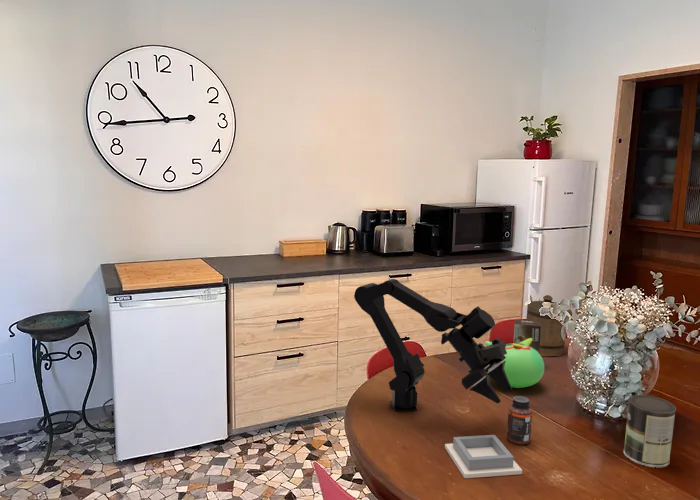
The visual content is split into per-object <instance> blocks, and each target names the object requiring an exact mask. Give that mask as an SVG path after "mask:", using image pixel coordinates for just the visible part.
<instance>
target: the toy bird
mask: <svg viewBox="0 0 700 500" xmlns="http://www.w3.org/2000/svg"><path fill="white" fill-rule="evenodd" d="M532 340H533V339H532V338H529V339H526V340H524V341H522V342H520V343H518V344H517V343H514V342H513V343H512V342H511V343H505V344H506V347H505V349H506V352H507V354H505V355H504V356H505V357H506V358H505V359H504V360H503V361H501V363H502V362H504V361H506V363H505V366H504V370H505V373H506V376H507V378H508V381H509V383H510V385H511V388H512V389H521V388H522V389H523V388H528V387H531V386H534V385H536V384H538V382H539V381H541V379H542V378H543V375H544V374H545V362H544V359H543V356H541V355H540V354H539V353H538V352H537V351H536V350H535V349H533V348H531V347H529V345H530V344H531V342H532ZM484 344H485V346H489V345H492V341H488V340H486V341H485V342H484ZM487 373H489V371H488V372H487Z"/></svg>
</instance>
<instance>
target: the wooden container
mask: <svg viewBox="0 0 700 500" xmlns="http://www.w3.org/2000/svg"><path fill="white" fill-rule="evenodd" d="M530 302H531V303H530V304H528V303H527V307H526V318H525V320H526V321H536V322H540V323H541V340H540V355H541V357H546V356H556V357H559V356H562V355H564V352H565V343H566V329H567V326H566V327H565V326H564V325H562V324H561V323H560V322H559V321H558V320H556V319H551V318H550V317H549V316H548V315H545V316H540V312H539V309H540V308H541V307H543V305H542V303H543V302H550V303H557V302H555V301H554V300H553V297H552V296H551V295H550V294H546V295H544V296H543V300H533V301H530Z"/></svg>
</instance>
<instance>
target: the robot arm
mask: <svg viewBox="0 0 700 500" xmlns="http://www.w3.org/2000/svg"><path fill="white" fill-rule="evenodd" d="M387 295H388V296H390V297H392V298H393V299H395V300H397V301H399V302H400V303H402V304H403V305H405V306H407V308H409V309H411V310H413V311H414V312H416V313H418V314H419V315H421V316H422V317H423V318H424V320H425V321H426V323H427V324H428V325H429V326H430V327H432V328H433V330H435V331H437V332H440V333H442V332H444V333H442V334H441V341H440V344H441V345H444V344H446V343H448V342H449V344H450V345H451V346H452V348H453V349H454V350H455V351H456V353H457V355H459V359H458V360H459V362H460V363H462V362H463V363H465V364H466V366H467V367H468V368H469V369H470V370H468V374H466V375H465V376H463V378H461V385H462V386H463V388H464V389H465V390H469V391H470V392H471V391H473V392H475V393H476V394H479V395H481V396H482V397H484V398H487V399H489V400H490V401H492V402H493V403H495V404H499V403H501V401H502V400H501V399H500V397H499V395H498V393H497V392H496V391H495V389H494V387H493V386H492V384H491V383H490V379H492V380H493V381H495V382H496V384H498V385H500V387H502V388H503V389H505V390H506V391H508V392H511V391H513V388H512V387H511V385H510V383H509V381H508V378H507V376H506V373H505V370H504V366H505V363H506V361H504V362H502V363H501V361H503V360H504V359H505V358H506V357H505V356H504V355H505V354H507V352H506V349H505V347H506V344H507V343H505V342H504V341H503V340H501V338H499V337H498V338H494V339H493V340H492V341H491V342H492V345H489V346H487V345H485V346H484V344H483V343H481V342H479V343H477V341H476V340H475V339H480V338H482V337H483V336H484V335H485V334H486V333H488V332H489V331H490V330H492V329H493V328H494V327H495V326H496V323H495V320H494V318H493V316H492V315H491V314H490V313H488V312H487V311H485V310H484V309H481V307H480V306H476V307H474V308H473V309H472V310H471V311H470V313H468V314H467V315H466V314H463V313H462V312H461V313H460V312H457V311H456V309H454V308H453V307H450V306H448V305H445V304H443V303H439V302H435V301H434V302H433V301H432V300H430V299H428V298H426V297H425V296H423V295H421V294H420V293H417V292H416V291H414V290H413V289H412V288H410V287H408V286H406V285H404V284H402V283H401V282H400V281H399V280H398V279H395V278H391V279H387V280H385V281H384V282H382V283H378V284H377V283H375V282H370V283H367V284H363V285H360V286H358V287H357V288H356V289H355V291H354V295H353V297H354V300H355V303H357V304H358V307H360V308H361V310H362V311H363V312H365V313H366V314H367V315H368V316H370V318H371V319H372V322H373V324H374V326H375V327H376V329H377V332H378V333H379V335H380V337H381V338H382V340H383V342H384V344H385V346H386V348H387V350H388V351H389V354H390V355H391V357H392V360H393V372H394V375H395V377H394V378H392V379H391V380H389V382H388V387H389V390H391V391H392V397H391V399H392V400H390V404H391V406H392V408H393V410H394V412H412V411H417V410H418V408H417V405H418V392H417V388H416V385H418V384H419V381H421V380H423V378H424V376H425V373H426V372H425V368H424V366H425V364H424V363H423V362H422V361H421V358H420V356H419V354H418V353H415V354H414V355H413V354H412V353H411V352H410V351H409V350H408V349H407V346H406V345H405V343H404V341H403V340H402V337H401V336H400V335H399V332H398V330H397V328H396V326H395V325H394V322H393V320H392V319H391V318H390V315H389V313H388V311H387V310H386V306H385V297H384V296H387ZM459 326H461V327H460V328H457V327H459ZM450 329H451V330H450ZM449 330H450V331H449ZM446 331H449V332H446ZM488 371H489V372H488Z"/></svg>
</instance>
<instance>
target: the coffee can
mask: <svg viewBox="0 0 700 500" xmlns="http://www.w3.org/2000/svg"><path fill="white" fill-rule="evenodd" d="M627 402H628V407H627V416H626V417H627V418H626V426H625V427H626V428H625V437H624V443H623V444H624V446H623V449H622V450H623V454H624V456H625V457H626V458H627V459H628V458H629V459H628V460H630V461H632V462H633V461H634V462H633V463H635V464H638V465H641V466H643V465H644V466H643V467H647V468H655V467H656V469H657V468H659V469H661V468H666V467H667V466H668V465H670V461H671V459H670V458H671V451H672V441H673V434H674V427H675V418H676V417H675V416H676V412H677V407H676V405H675V404H674V403H672V402H670V401H669V400H666V399H664V398H661V397H657V396H653V395H648V394H635V395H631V396H630V397H628V401H627Z"/></svg>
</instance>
